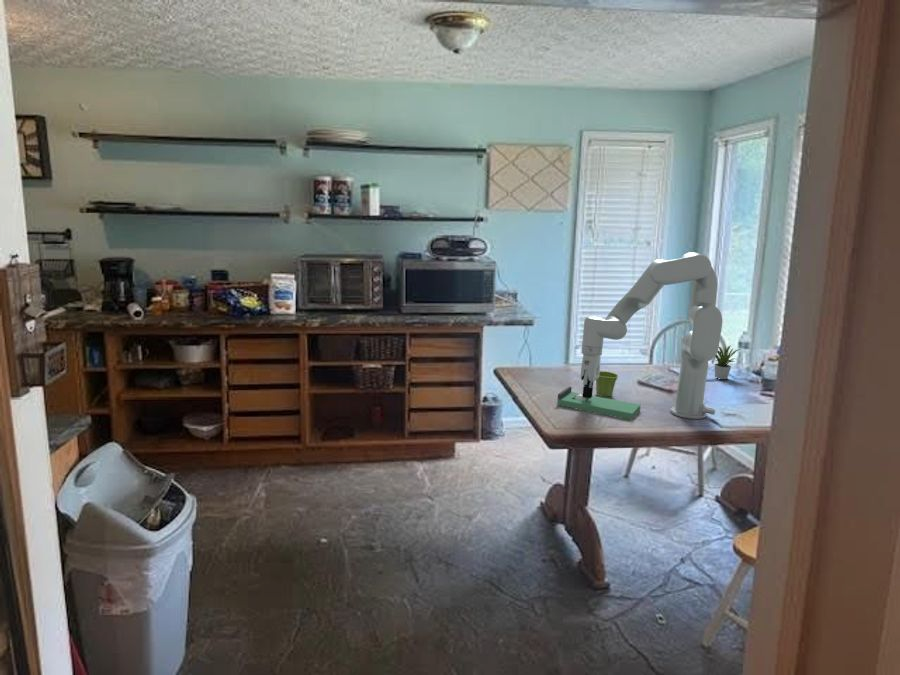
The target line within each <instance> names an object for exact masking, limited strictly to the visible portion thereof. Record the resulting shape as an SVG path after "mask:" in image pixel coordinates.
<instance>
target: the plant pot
mask: <svg viewBox="0 0 900 675" xmlns="http://www.w3.org/2000/svg"><path fill="white" fill-rule="evenodd" d="M618 378H619V374H617V373H615V372H610V371H603V370H602V371H601V370H600V376H599V378H598V379H596V380H595V385H596V388H595V389H596V395H598V397H602V398H608V397H610V398H611V397H612V396H613V392H614V389H615V386H616V382H617V380H618Z"/></svg>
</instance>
